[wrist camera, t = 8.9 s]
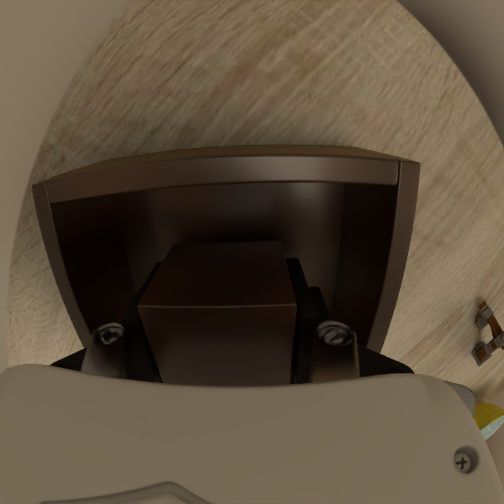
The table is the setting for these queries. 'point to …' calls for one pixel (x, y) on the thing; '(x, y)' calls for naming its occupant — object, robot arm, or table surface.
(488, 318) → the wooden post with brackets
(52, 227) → the walnut bin
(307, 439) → the robot arm
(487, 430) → the bowl
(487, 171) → the table surface
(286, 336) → the walnut block
